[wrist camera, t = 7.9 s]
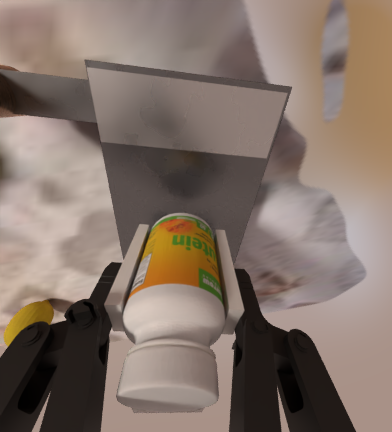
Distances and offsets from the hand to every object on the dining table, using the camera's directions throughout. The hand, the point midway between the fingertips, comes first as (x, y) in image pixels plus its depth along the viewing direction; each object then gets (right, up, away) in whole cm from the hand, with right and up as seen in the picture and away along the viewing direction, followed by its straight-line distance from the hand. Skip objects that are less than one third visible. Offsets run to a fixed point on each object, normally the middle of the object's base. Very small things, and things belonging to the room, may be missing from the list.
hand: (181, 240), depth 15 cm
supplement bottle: (0, 0, 0) cm, 1 cm away
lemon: (-28, -14, +19) cm, 36 cm away
